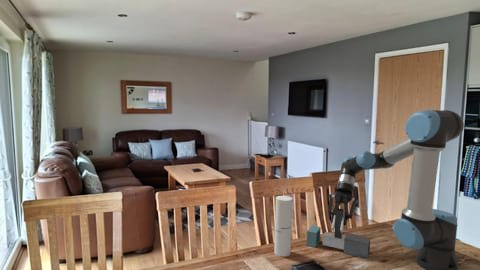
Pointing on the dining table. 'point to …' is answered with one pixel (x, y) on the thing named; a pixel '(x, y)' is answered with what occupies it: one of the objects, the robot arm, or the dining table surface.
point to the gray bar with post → (335, 233)
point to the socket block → (313, 236)
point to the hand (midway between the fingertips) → (337, 230)
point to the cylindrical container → (283, 226)
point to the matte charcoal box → (357, 245)
